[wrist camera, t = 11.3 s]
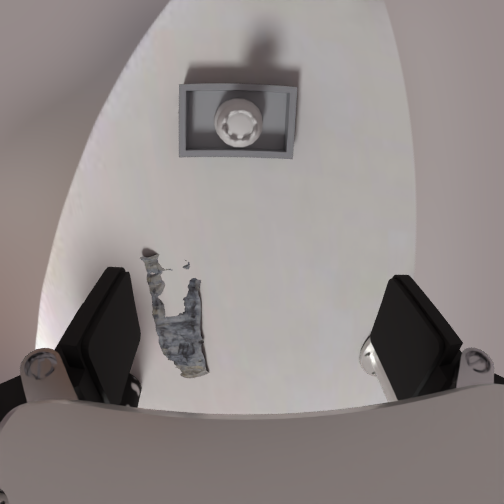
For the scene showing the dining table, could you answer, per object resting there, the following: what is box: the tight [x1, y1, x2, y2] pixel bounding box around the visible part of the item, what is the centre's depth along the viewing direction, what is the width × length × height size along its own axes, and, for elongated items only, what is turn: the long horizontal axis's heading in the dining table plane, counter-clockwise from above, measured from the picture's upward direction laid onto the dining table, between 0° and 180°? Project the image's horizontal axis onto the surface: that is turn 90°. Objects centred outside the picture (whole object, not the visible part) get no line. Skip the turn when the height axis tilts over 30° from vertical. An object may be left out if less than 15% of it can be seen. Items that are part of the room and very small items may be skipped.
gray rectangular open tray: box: [179, 83, 297, 159], centre depth 26 cm, size 10×7×2 cm, turn 88°
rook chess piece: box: [214, 98, 263, 147], centre depth 23 cm, size 4×4×8 cm
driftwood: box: [140, 254, 209, 378], centre depth 37 cm, size 21×7×2 cm, turn 178°
